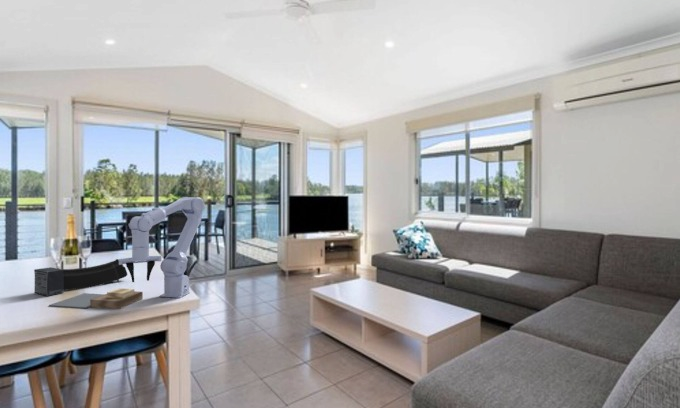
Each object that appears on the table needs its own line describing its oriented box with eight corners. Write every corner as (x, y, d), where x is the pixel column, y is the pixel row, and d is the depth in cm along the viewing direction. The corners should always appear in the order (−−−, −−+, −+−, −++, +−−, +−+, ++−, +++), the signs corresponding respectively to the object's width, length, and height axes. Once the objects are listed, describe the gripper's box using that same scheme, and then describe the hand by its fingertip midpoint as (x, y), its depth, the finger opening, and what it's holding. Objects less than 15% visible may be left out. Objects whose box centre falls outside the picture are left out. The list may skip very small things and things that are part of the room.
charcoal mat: (118, 296, 147) (118, 295, 147) (86, 308, 131) (86, 307, 131) (84, 294, 149) (84, 293, 149) (48, 306, 133) (48, 305, 133)
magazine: (43, 274, 146) (118, 246, 169) (41, 273, 148) (115, 245, 171) (58, 309, 150) (129, 277, 173) (55, 308, 152) (126, 276, 175)
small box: (65, 292, 150) (64, 269, 150) (47, 296, 144) (46, 272, 144) (51, 289, 155) (51, 266, 154) (33, 293, 149) (33, 269, 148)
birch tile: (134, 294, 140) (134, 289, 140) (123, 298, 134) (123, 293, 134) (118, 293, 141) (118, 288, 141) (107, 297, 135) (107, 292, 135)
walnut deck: (142, 298, 144) (142, 291, 144) (118, 309, 131) (118, 301, 131) (116, 297, 145) (116, 290, 145) (90, 307, 132) (90, 299, 132)
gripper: (160, 244, 144) (159, 276, 144) (118, 246, 136) (118, 280, 136) (162, 246, 138) (161, 280, 138) (118, 249, 130) (118, 284, 130)
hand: (140, 280), depth 137 cm, fingers open, 4 cm apart
